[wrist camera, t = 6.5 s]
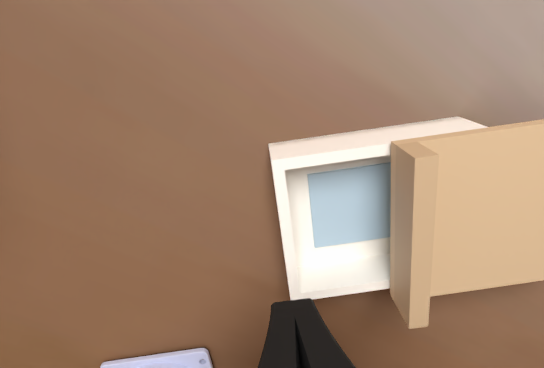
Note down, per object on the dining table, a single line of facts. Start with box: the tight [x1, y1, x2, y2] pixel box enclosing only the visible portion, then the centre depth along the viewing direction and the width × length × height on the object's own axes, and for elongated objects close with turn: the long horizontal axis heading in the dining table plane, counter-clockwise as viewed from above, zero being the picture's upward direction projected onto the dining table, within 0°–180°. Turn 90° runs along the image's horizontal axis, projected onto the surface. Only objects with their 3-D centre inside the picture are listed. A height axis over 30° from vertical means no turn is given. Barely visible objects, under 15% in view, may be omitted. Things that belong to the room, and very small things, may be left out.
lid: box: [390, 119, 544, 329], centre depth 17 cm, size 11×9×3 cm
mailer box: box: [268, 116, 487, 300], centre depth 20 cm, size 11×9×3 cm
